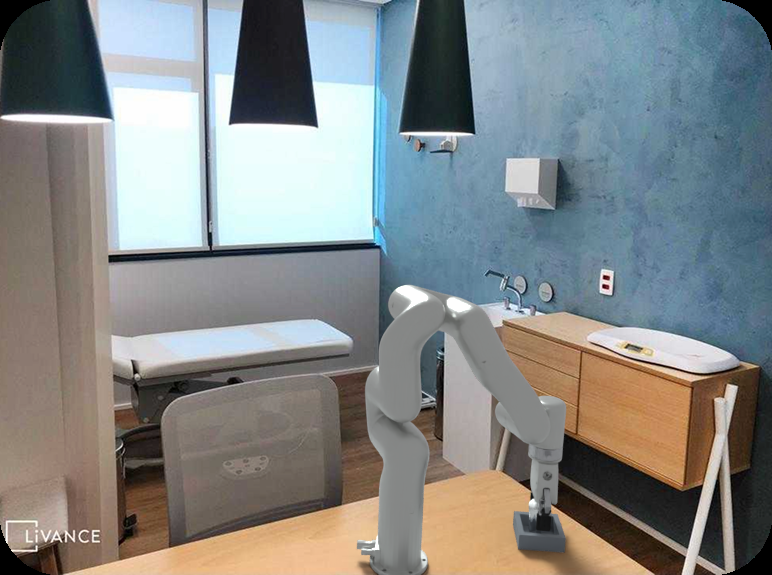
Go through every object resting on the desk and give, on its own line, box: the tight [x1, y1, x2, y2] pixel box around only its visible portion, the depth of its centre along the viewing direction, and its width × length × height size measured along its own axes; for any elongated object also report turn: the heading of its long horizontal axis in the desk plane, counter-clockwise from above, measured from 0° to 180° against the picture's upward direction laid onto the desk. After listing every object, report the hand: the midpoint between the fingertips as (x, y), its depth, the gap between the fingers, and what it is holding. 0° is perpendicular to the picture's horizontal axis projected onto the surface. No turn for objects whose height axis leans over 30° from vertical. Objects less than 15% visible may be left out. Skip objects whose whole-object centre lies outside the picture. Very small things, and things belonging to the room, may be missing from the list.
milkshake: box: [528, 499, 544, 534], centre depth 153 cm, size 5×5×10 cm
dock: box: [512, 510, 567, 554], centre depth 154 cm, size 10×10×4 cm
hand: (539, 518), depth 153 cm, fingers open, 9 cm apart
